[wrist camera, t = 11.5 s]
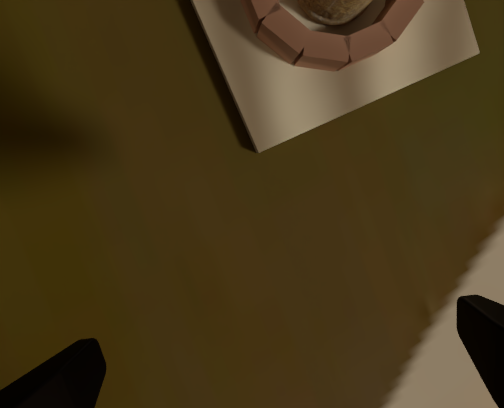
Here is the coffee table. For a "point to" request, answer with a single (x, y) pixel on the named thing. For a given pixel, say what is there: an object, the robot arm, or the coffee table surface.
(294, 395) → the coffee table surface
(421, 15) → the collar base
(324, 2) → the sprinkles bottle
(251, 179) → the coffee table surface
